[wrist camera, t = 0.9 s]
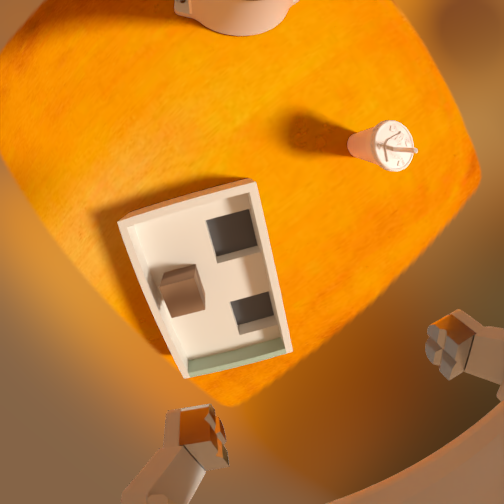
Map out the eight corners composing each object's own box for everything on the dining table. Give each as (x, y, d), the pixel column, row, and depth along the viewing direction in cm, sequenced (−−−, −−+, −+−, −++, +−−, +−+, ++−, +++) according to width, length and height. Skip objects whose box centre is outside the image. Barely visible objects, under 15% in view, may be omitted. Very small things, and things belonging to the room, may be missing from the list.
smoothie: (331, 150, 38) (386, 151, 25) (351, 116, 37) (409, 105, 24) (363, 174, 40) (423, 186, 27) (381, 141, 39) (444, 142, 26)
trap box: (129, 212, 37) (117, 221, 31) (248, 178, 38) (256, 181, 32) (185, 354, 46) (184, 378, 40) (283, 329, 47) (292, 351, 41)
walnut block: (163, 272, 37) (158, 287, 33) (195, 263, 38) (194, 277, 33) (174, 301, 39) (171, 318, 35) (205, 293, 39) (205, 309, 35)
